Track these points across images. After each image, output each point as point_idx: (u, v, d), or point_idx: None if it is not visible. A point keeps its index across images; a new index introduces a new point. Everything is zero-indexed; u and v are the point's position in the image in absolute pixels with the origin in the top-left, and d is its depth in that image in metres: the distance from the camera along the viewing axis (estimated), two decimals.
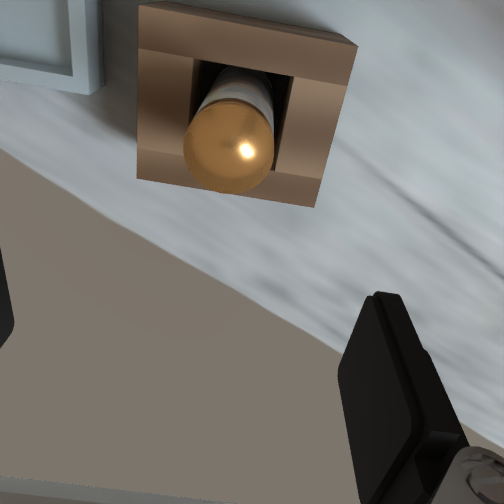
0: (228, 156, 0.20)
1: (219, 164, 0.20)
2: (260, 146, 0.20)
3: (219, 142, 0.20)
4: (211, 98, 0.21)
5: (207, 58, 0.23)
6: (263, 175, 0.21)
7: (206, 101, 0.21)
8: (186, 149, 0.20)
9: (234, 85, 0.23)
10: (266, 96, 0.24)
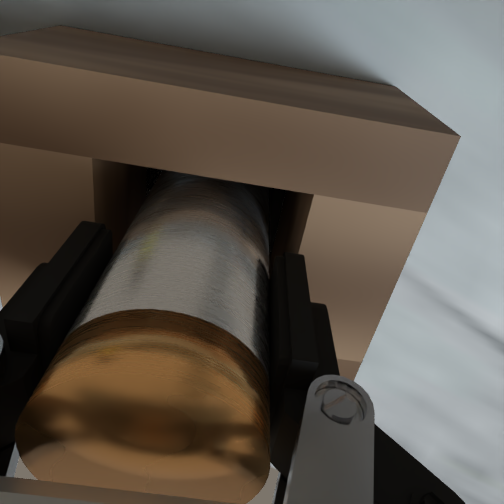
0: (145, 468, 0.07)
1: (124, 480, 0.08)
2: (232, 455, 0.07)
3: (116, 444, 0.07)
4: (111, 286, 0.08)
5: (123, 158, 0.11)
6: (242, 500, 0.08)
7: (100, 291, 0.08)
8: (27, 454, 0.07)
9: (179, 228, 0.10)
10: (254, 231, 0.11)
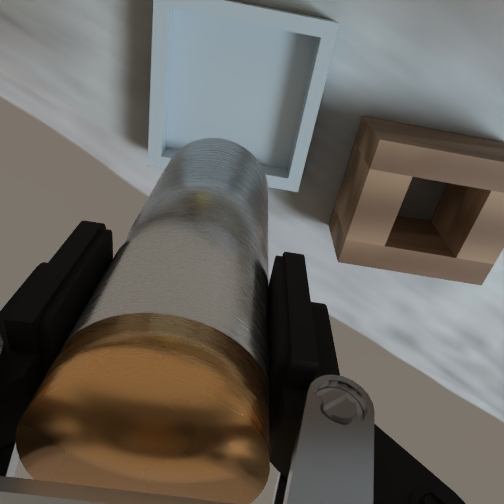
0: (145, 471, 0.07)
1: (124, 483, 0.08)
2: (231, 458, 0.07)
3: (116, 448, 0.07)
4: (111, 290, 0.08)
5: (424, 177, 0.29)
6: (242, 503, 0.08)
7: (100, 295, 0.08)
8: (28, 458, 0.07)
9: (179, 232, 0.10)
10: (253, 235, 0.12)
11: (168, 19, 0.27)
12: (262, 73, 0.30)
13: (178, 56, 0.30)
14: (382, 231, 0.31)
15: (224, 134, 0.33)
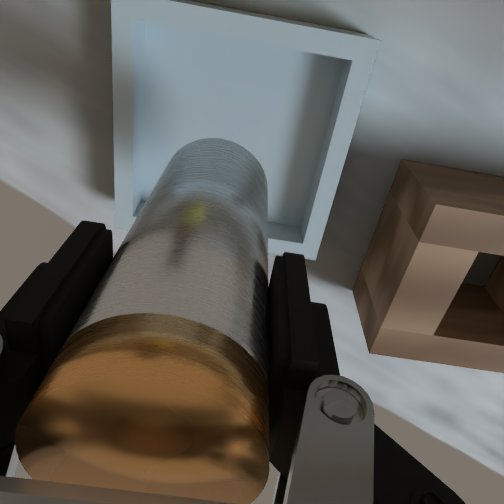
0: (145, 472, 0.07)
1: (123, 484, 0.08)
2: (231, 458, 0.07)
3: (115, 448, 0.07)
4: (111, 290, 0.08)
5: (495, 252, 0.21)
6: (242, 503, 0.08)
7: (99, 295, 0.08)
8: (27, 459, 0.07)
9: (178, 232, 0.10)
10: (253, 235, 0.12)
11: (134, 36, 0.19)
12: (268, 106, 0.22)
13: (152, 85, 0.22)
14: (431, 318, 0.23)
15: None
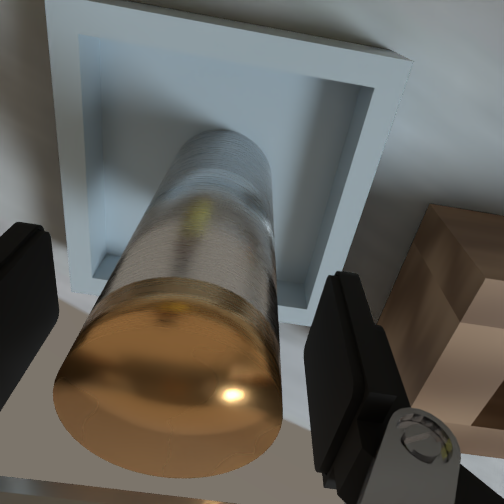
0: (169, 421, 0.08)
1: (149, 433, 0.08)
2: (248, 406, 0.08)
3: (144, 397, 0.08)
4: (135, 260, 0.09)
5: None
6: (256, 452, 0.09)
7: (124, 265, 0.09)
8: (63, 409, 0.08)
9: (194, 210, 0.11)
10: (261, 216, 0.12)
11: (80, 55, 0.14)
12: (262, 142, 0.17)
13: (112, 115, 0.17)
14: (470, 407, 0.18)
15: None
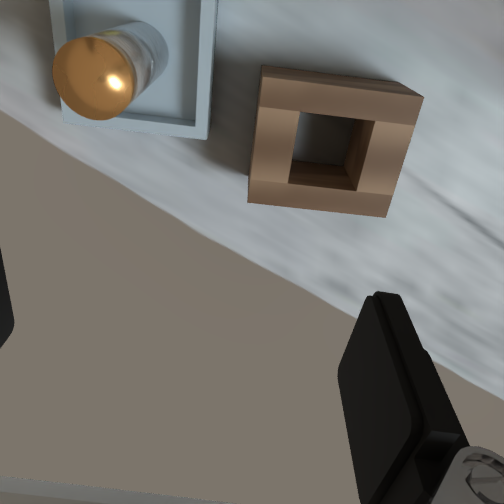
0: (93, 85, 0.24)
1: (87, 93, 0.24)
2: (117, 73, 0.23)
3: (82, 72, 0.23)
4: None
5: (311, 111, 0.31)
6: (126, 100, 0.24)
7: None
8: (56, 81, 0.24)
9: (106, 30, 0.26)
10: (142, 41, 0.28)
11: None
12: (159, 27, 0.33)
13: (80, 16, 0.32)
14: (282, 168, 0.34)
15: None
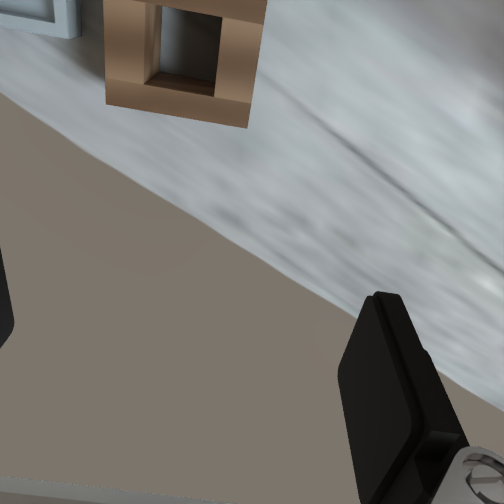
0: None
1: None
2: None
3: None
4: None
5: (156, 2, 0.31)
6: None
7: None
8: None
9: None
10: None
11: None
12: None
13: None
14: (136, 67, 0.33)
15: None
